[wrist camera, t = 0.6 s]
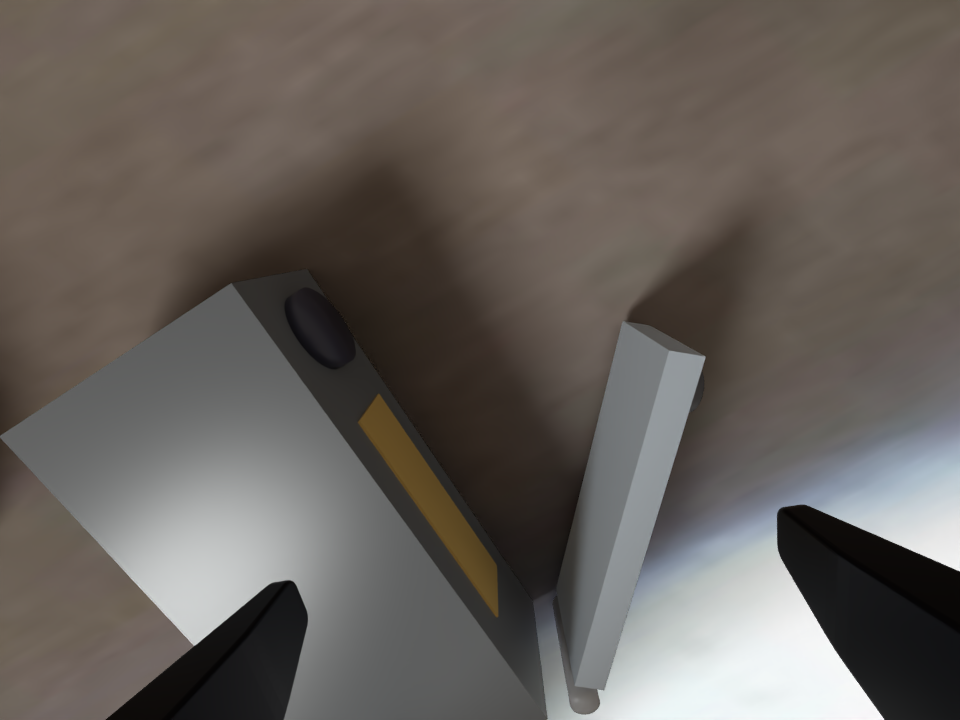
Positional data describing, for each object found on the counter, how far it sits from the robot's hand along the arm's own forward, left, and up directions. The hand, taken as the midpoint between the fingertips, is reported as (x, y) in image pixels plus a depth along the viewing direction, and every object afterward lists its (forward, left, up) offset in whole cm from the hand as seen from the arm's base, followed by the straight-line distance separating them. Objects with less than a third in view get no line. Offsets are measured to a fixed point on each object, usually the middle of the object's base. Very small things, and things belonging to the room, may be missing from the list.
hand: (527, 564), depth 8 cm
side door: (-7, -1, -12) cm, 14 cm away
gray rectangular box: (-2, +10, -13) cm, 16 cm away
